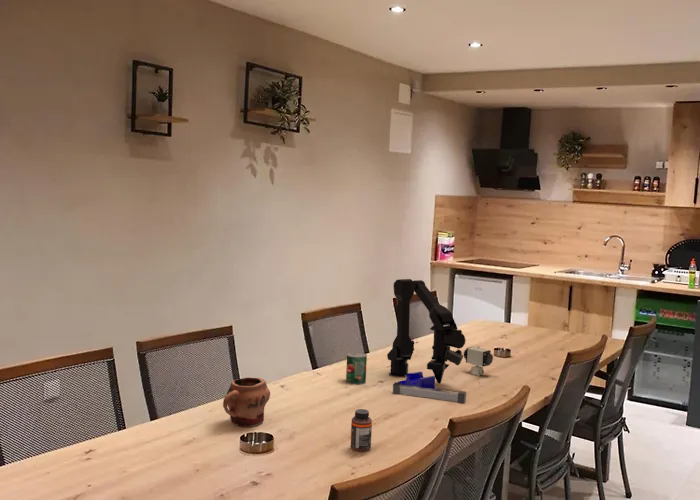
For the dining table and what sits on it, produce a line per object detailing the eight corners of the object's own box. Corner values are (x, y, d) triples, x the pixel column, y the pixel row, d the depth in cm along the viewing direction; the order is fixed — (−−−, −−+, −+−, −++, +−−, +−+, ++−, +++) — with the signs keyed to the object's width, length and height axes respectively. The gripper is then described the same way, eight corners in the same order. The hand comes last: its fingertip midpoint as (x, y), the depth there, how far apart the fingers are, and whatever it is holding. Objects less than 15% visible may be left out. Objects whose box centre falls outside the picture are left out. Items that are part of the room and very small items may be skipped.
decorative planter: (242, 437, 208) (243, 391, 206) (209, 429, 213) (210, 385, 212) (278, 419, 226) (279, 377, 224) (247, 412, 231) (248, 371, 230)
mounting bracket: (443, 395, 262) (444, 379, 261) (429, 398, 258) (429, 382, 257) (411, 383, 276) (412, 368, 276) (397, 386, 272) (398, 370, 271)
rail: (392, 393, 259) (393, 384, 259) (395, 391, 262) (395, 382, 262) (464, 403, 250) (464, 393, 250) (465, 401, 253) (466, 391, 253)
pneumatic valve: (485, 378, 286) (487, 349, 285) (462, 372, 294) (463, 344, 293) (493, 376, 290) (494, 348, 289) (469, 370, 298) (471, 343, 297)
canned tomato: (370, 382, 274) (371, 354, 273) (356, 385, 268) (357, 357, 267) (355, 378, 279) (356, 351, 278) (341, 381, 273) (342, 354, 272)
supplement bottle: (349, 445, 205) (351, 407, 204) (369, 445, 205) (371, 407, 204) (351, 452, 199) (352, 414, 198) (371, 452, 199) (373, 414, 198)
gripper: (457, 350, 254) (455, 392, 255) (466, 340, 272) (464, 380, 273) (427, 347, 258) (425, 388, 259) (438, 338, 275) (436, 376, 277)
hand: (439, 383), depth 267 cm, fingers closed
